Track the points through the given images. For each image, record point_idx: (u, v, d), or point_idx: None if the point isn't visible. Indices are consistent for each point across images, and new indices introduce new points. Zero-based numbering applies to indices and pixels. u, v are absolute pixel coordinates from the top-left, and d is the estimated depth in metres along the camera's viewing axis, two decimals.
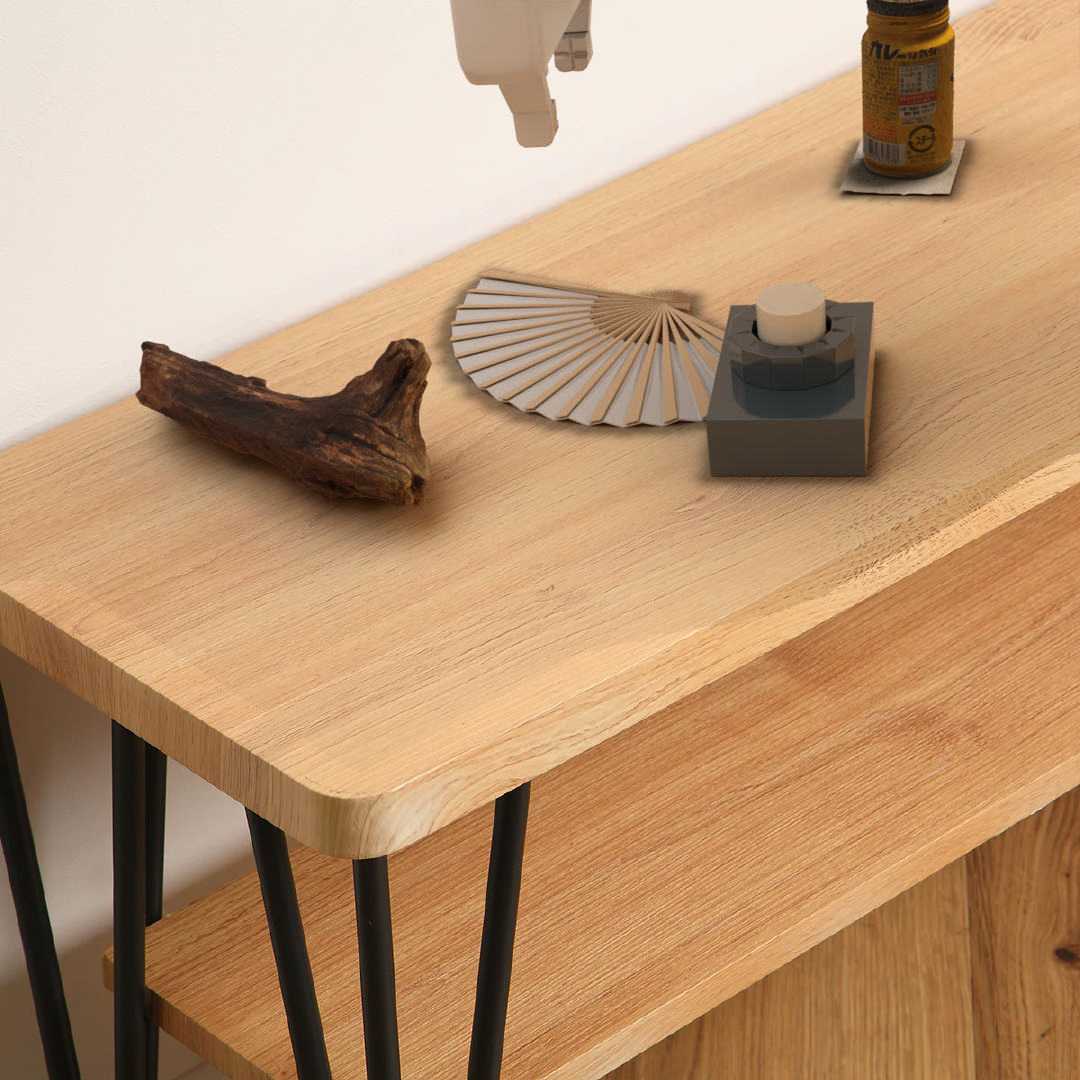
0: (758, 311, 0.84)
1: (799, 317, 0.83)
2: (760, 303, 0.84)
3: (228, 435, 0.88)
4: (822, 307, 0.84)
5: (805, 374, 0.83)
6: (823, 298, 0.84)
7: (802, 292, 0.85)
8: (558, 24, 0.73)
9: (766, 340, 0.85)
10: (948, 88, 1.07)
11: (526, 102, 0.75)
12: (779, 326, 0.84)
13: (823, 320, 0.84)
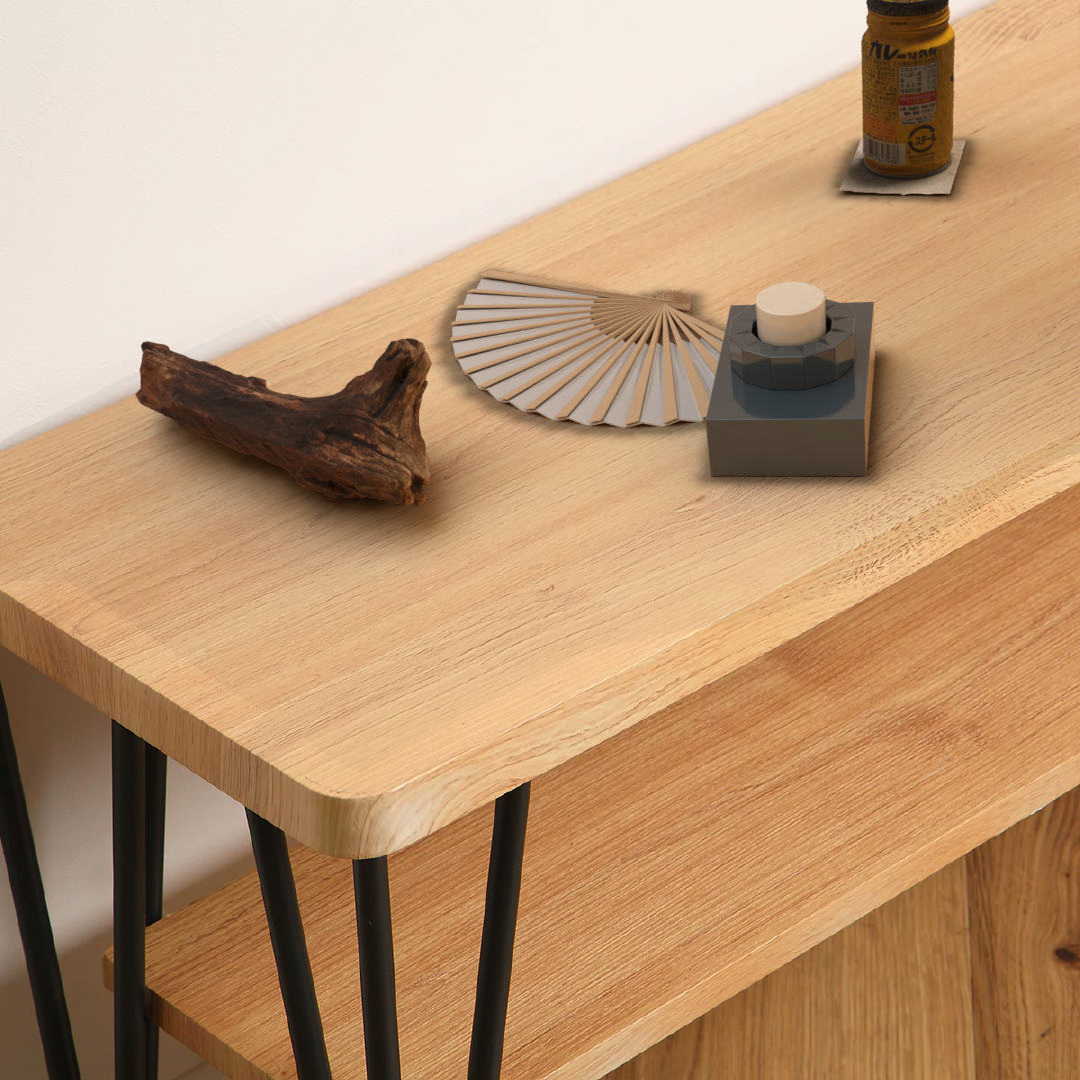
0: (758, 311, 0.84)
1: (799, 317, 0.83)
2: (760, 303, 0.84)
3: (228, 435, 0.88)
4: (822, 307, 0.84)
5: (805, 374, 0.83)
6: (823, 298, 0.84)
7: (802, 292, 0.85)
8: None
9: (766, 340, 0.85)
10: (948, 88, 1.07)
11: None
12: (779, 326, 0.84)
13: (823, 320, 0.84)
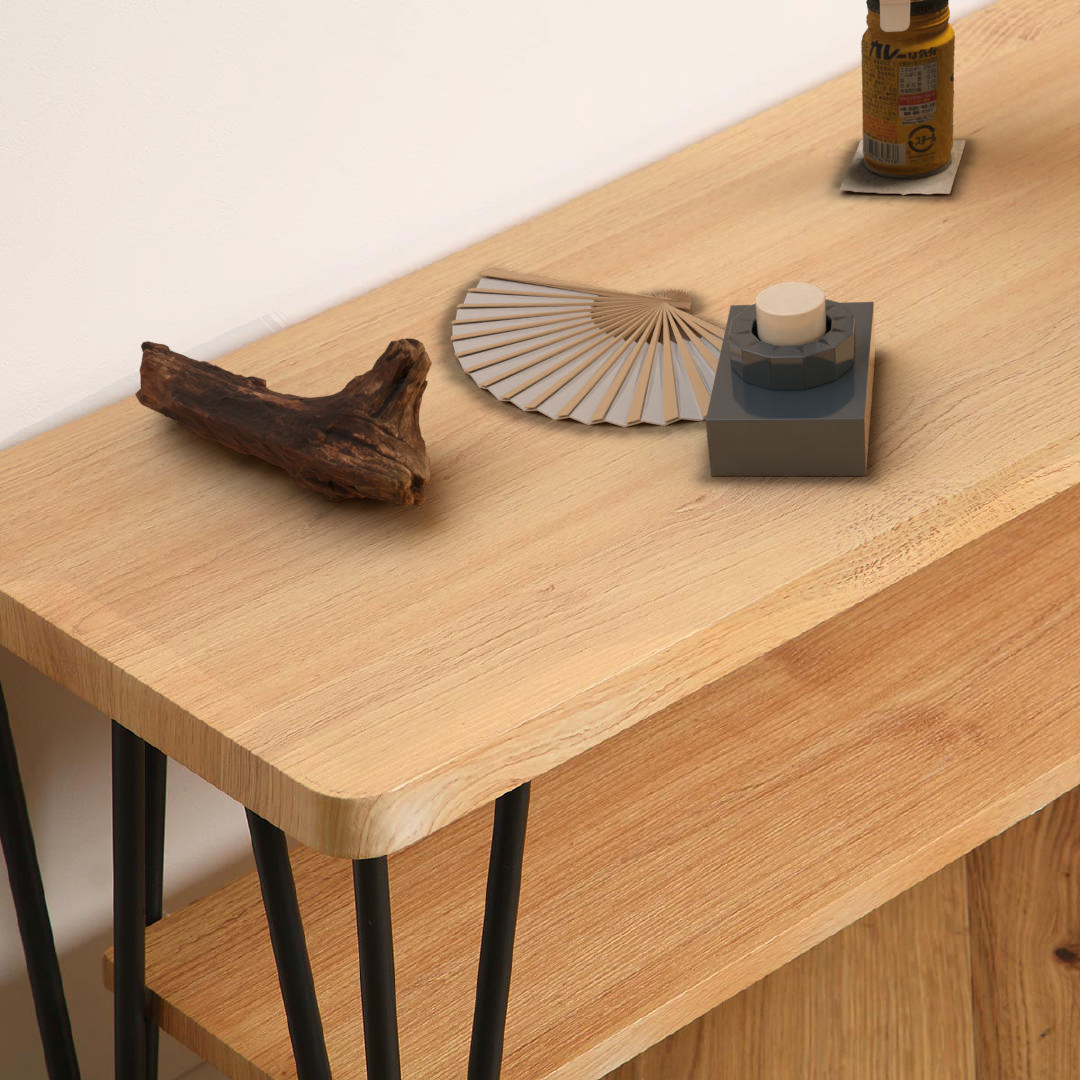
0: (758, 311, 0.84)
1: (799, 317, 0.83)
2: (760, 303, 0.84)
3: (228, 435, 0.88)
4: (822, 307, 0.84)
5: (805, 374, 0.83)
6: (823, 298, 0.84)
7: (802, 292, 0.85)
8: None
9: (766, 340, 0.85)
10: (948, 88, 1.07)
11: None
12: (779, 326, 0.84)
13: (823, 320, 0.84)
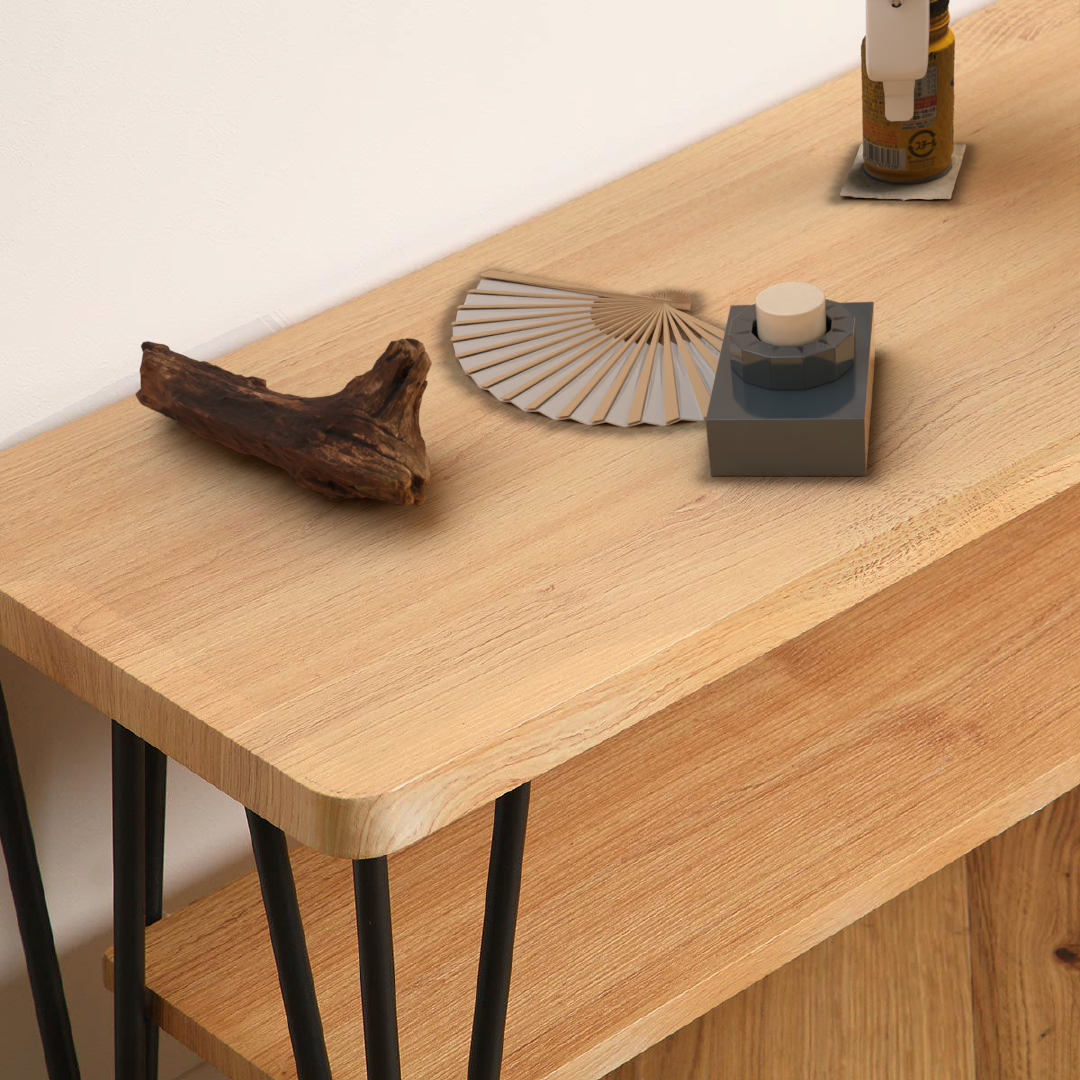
0: (758, 311, 0.84)
1: (799, 317, 0.83)
2: (760, 303, 0.84)
3: (228, 435, 0.88)
4: (822, 307, 0.84)
5: (805, 374, 0.83)
6: (823, 298, 0.84)
7: (802, 292, 0.85)
8: None
9: (766, 340, 0.85)
10: (948, 92, 1.06)
11: (898, 88, 1.03)
12: (779, 326, 0.84)
13: (823, 320, 0.84)
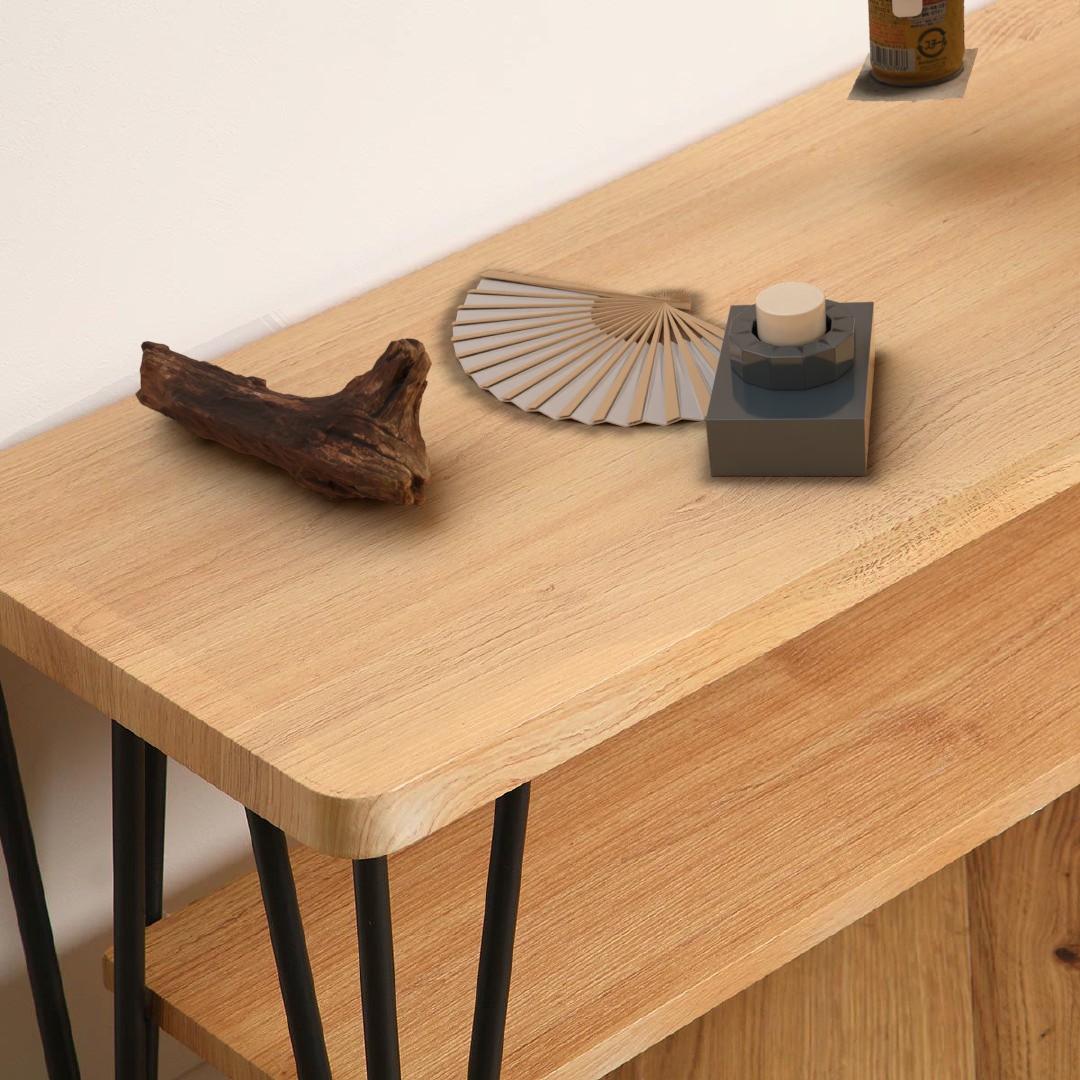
0: (758, 311, 0.84)
1: (799, 317, 0.83)
2: (760, 303, 0.84)
3: (228, 435, 0.88)
4: (822, 307, 0.84)
5: (805, 374, 0.83)
6: (823, 298, 0.84)
7: (802, 292, 0.85)
8: None
9: (766, 340, 0.85)
10: None
11: None
12: (779, 326, 0.84)
13: (823, 320, 0.84)
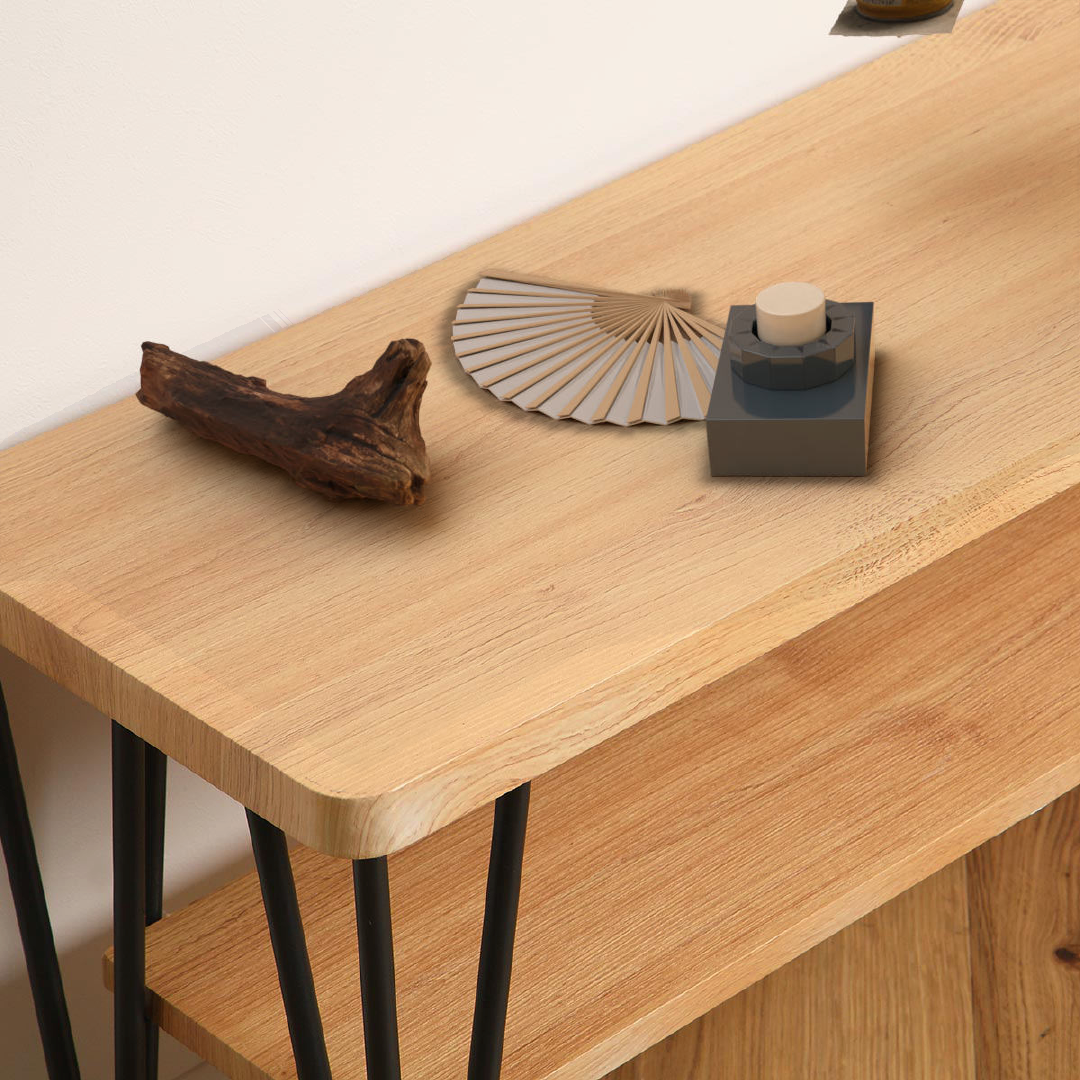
0: (758, 311, 0.84)
1: (799, 317, 0.83)
2: (760, 303, 0.84)
3: (228, 435, 0.88)
4: (822, 307, 0.84)
5: (805, 374, 0.83)
6: (823, 298, 0.84)
7: (802, 292, 0.85)
8: None
9: (766, 340, 0.85)
10: None
11: None
12: (779, 326, 0.84)
13: (823, 320, 0.84)
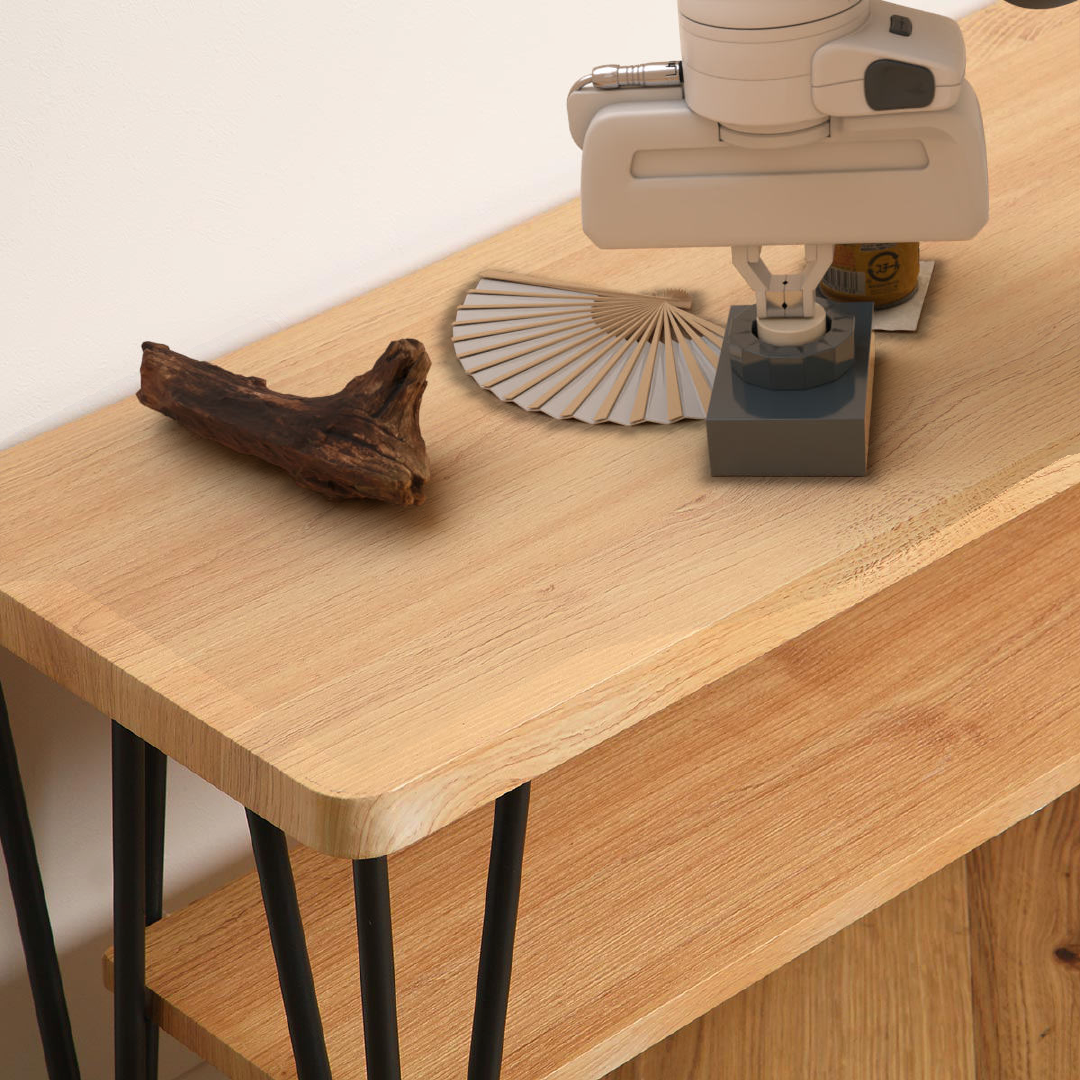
0: (759, 328, 0.85)
1: (800, 334, 0.84)
2: (761, 320, 0.85)
3: (228, 435, 0.88)
4: (823, 324, 0.84)
5: (805, 374, 0.83)
6: (824, 315, 0.85)
7: None
8: (673, 231, 0.82)
9: None
10: None
11: None
12: (780, 343, 0.84)
13: None
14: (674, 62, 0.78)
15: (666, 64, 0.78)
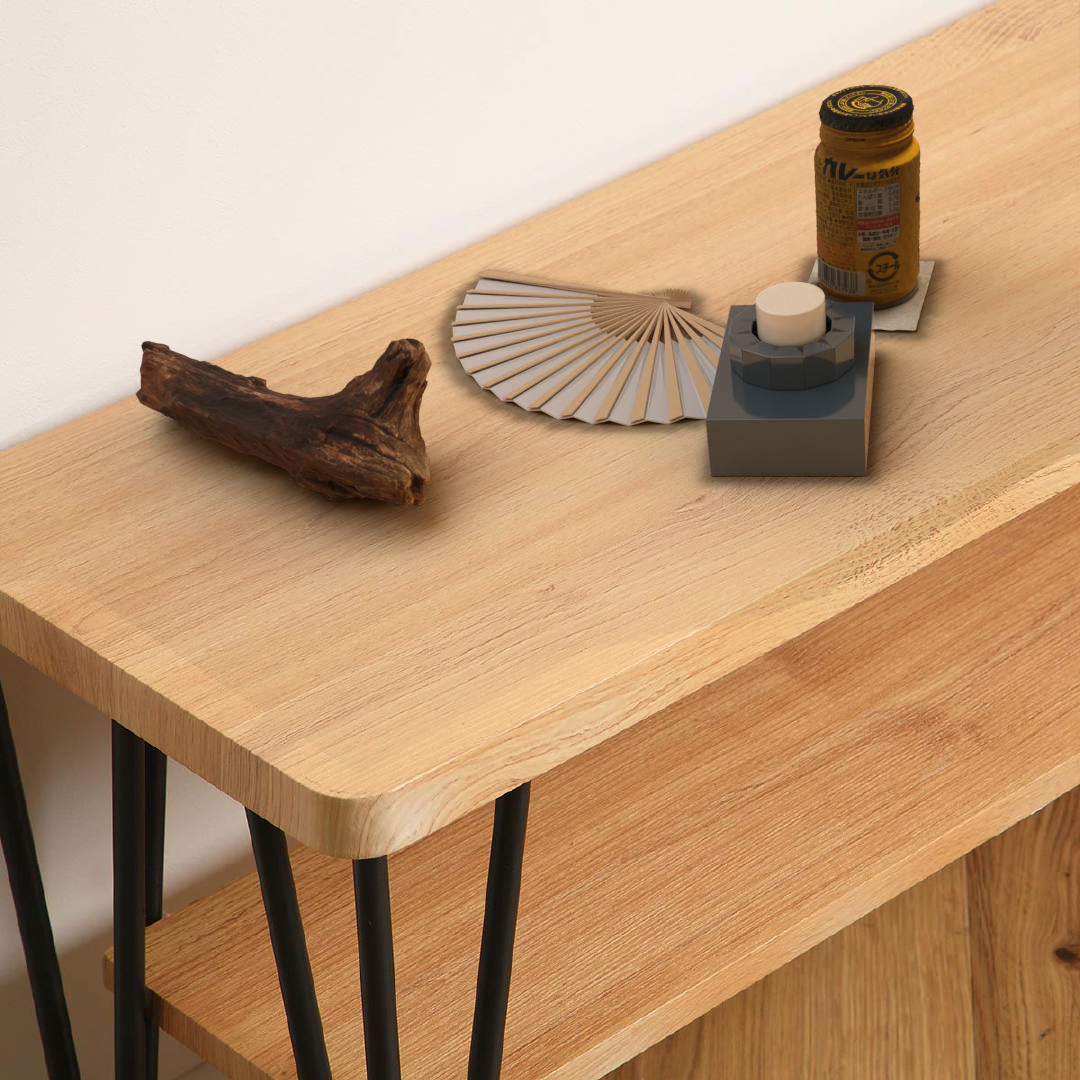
0: (758, 311, 0.84)
1: (799, 317, 0.83)
2: (760, 303, 0.84)
3: (228, 435, 0.88)
4: (822, 307, 0.84)
5: (805, 374, 0.83)
6: (823, 298, 0.84)
7: (802, 292, 0.85)
8: None
9: (766, 340, 0.85)
10: (913, 210, 0.94)
11: None
12: (779, 326, 0.84)
13: (823, 320, 0.84)
14: None
15: None
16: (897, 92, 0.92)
